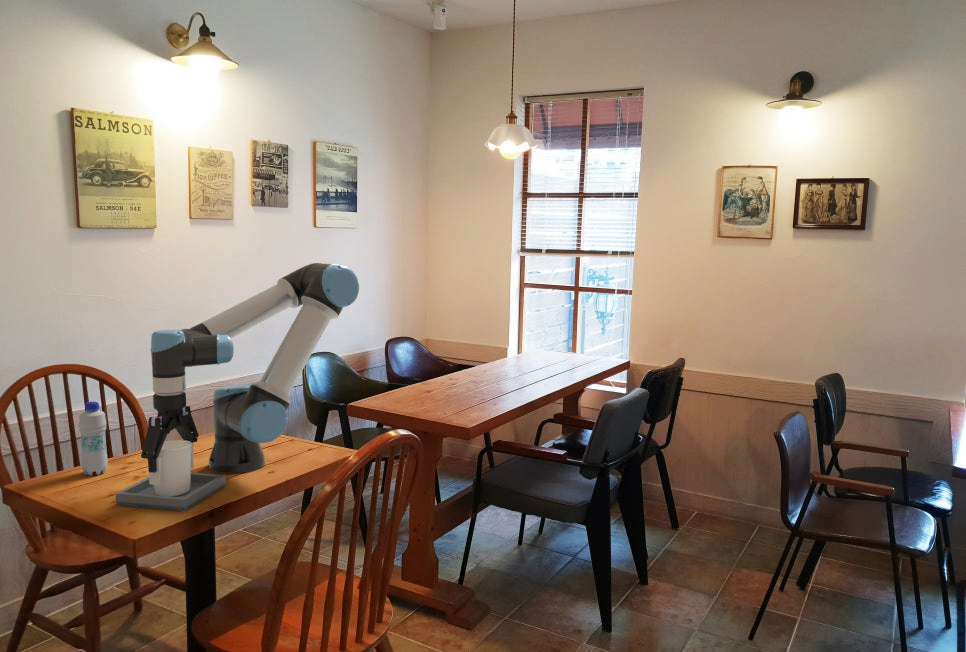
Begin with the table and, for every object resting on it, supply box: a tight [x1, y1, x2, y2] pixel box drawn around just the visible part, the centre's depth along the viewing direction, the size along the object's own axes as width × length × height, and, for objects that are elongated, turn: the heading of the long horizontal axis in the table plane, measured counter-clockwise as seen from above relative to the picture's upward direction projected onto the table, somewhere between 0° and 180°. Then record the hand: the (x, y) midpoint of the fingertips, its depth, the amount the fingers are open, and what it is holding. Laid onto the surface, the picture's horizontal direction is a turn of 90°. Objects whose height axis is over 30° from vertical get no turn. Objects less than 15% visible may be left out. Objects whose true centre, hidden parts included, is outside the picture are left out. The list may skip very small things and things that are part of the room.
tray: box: [115, 472, 227, 513], centre depth 184 cm, size 18×18×3 cm
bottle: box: [78, 400, 108, 476], centre depth 199 cm, size 7×7×20 cm
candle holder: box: [154, 439, 192, 496], centre depth 183 cm, size 10×10×12 cm
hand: (172, 475), depth 183 cm, fingers open, 13 cm apart
